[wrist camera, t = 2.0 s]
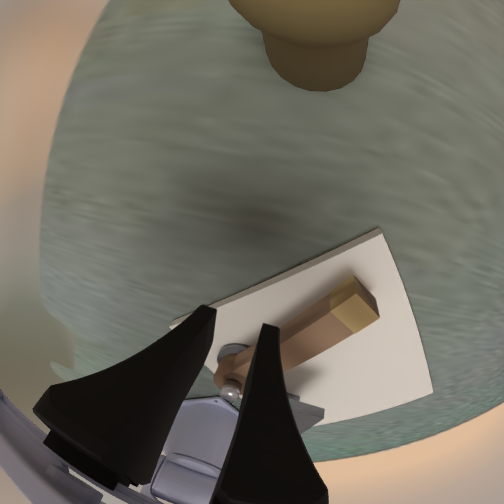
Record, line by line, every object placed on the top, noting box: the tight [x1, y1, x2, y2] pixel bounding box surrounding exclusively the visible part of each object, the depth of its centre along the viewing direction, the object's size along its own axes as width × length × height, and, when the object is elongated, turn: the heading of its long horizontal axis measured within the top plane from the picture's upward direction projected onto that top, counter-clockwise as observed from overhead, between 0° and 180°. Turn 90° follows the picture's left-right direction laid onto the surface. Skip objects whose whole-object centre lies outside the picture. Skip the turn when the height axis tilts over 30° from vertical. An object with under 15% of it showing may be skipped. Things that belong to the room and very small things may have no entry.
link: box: [213, 275, 380, 395], centre depth 19 cm, size 15×4×2 cm, turn 139°
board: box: [169, 228, 433, 426], centre depth 23 cm, size 20×21×1 cm
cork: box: [229, 0, 400, 92], centre depth 8 cm, size 6×6×11 cm
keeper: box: [217, 343, 325, 434], centre depth 22 cm, size 10×7×5 cm
